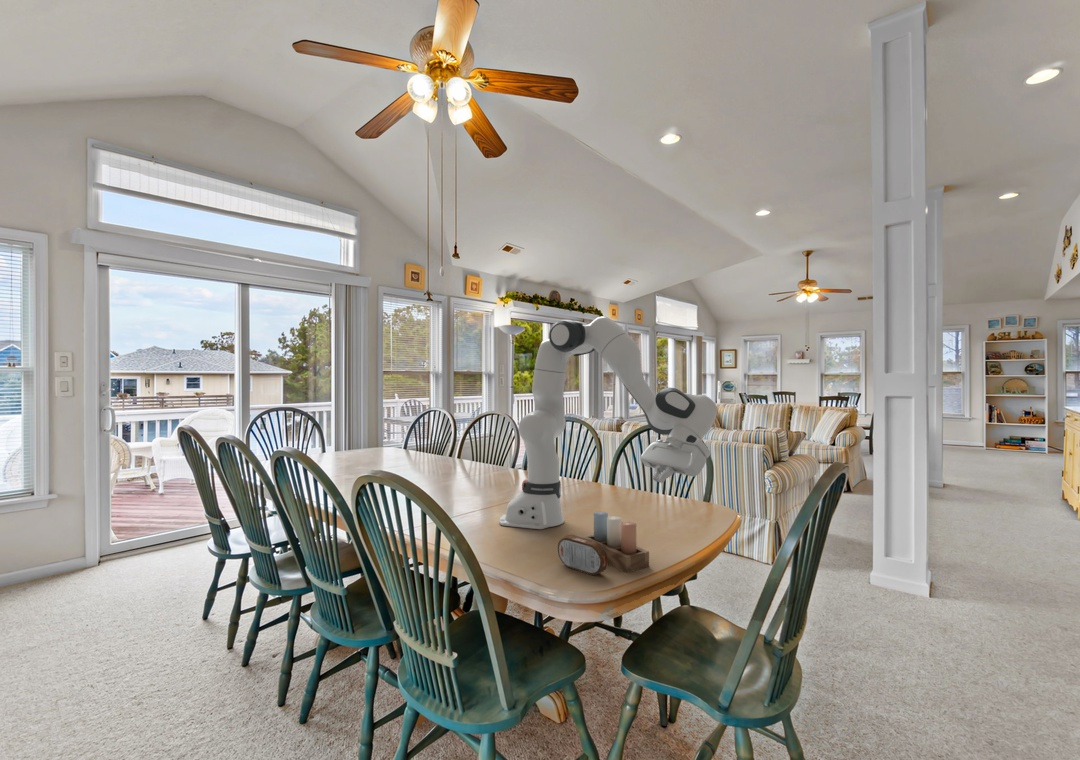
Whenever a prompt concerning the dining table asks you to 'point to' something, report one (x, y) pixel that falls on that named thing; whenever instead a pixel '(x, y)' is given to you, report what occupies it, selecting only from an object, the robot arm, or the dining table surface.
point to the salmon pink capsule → (628, 538)
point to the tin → (582, 554)
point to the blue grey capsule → (600, 526)
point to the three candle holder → (625, 557)
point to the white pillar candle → (614, 531)
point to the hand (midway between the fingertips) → (657, 480)
